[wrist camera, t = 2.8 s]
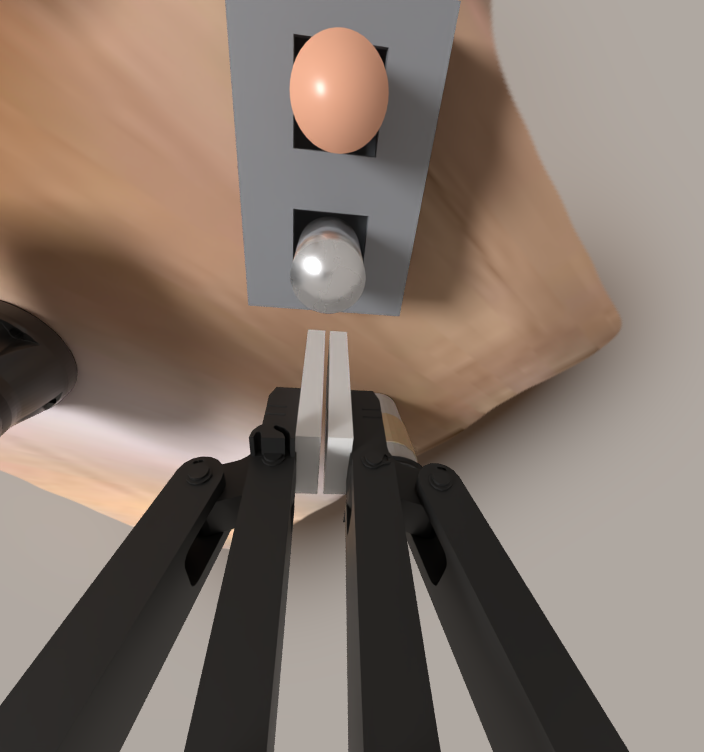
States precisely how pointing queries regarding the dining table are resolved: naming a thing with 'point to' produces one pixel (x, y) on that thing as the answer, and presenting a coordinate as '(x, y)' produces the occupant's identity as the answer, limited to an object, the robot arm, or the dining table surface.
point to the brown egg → (339, 90)
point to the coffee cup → (397, 434)
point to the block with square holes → (330, 170)
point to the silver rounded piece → (328, 266)
